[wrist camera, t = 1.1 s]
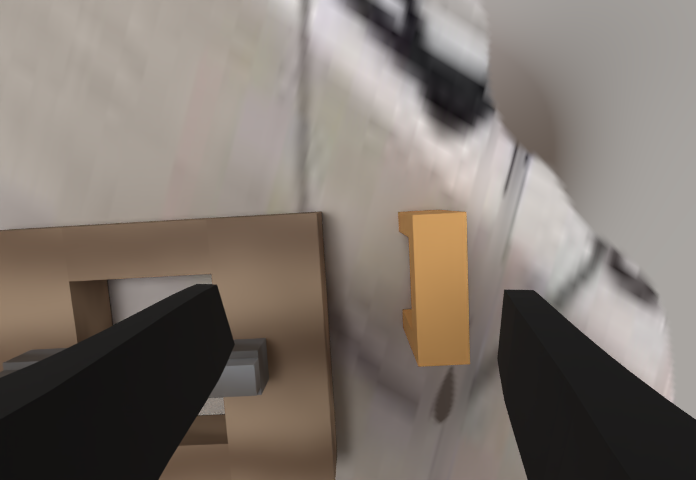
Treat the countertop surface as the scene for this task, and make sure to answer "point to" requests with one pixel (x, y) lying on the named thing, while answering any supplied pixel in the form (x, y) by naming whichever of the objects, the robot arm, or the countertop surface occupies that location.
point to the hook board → (242, 313)
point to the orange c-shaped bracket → (437, 287)
